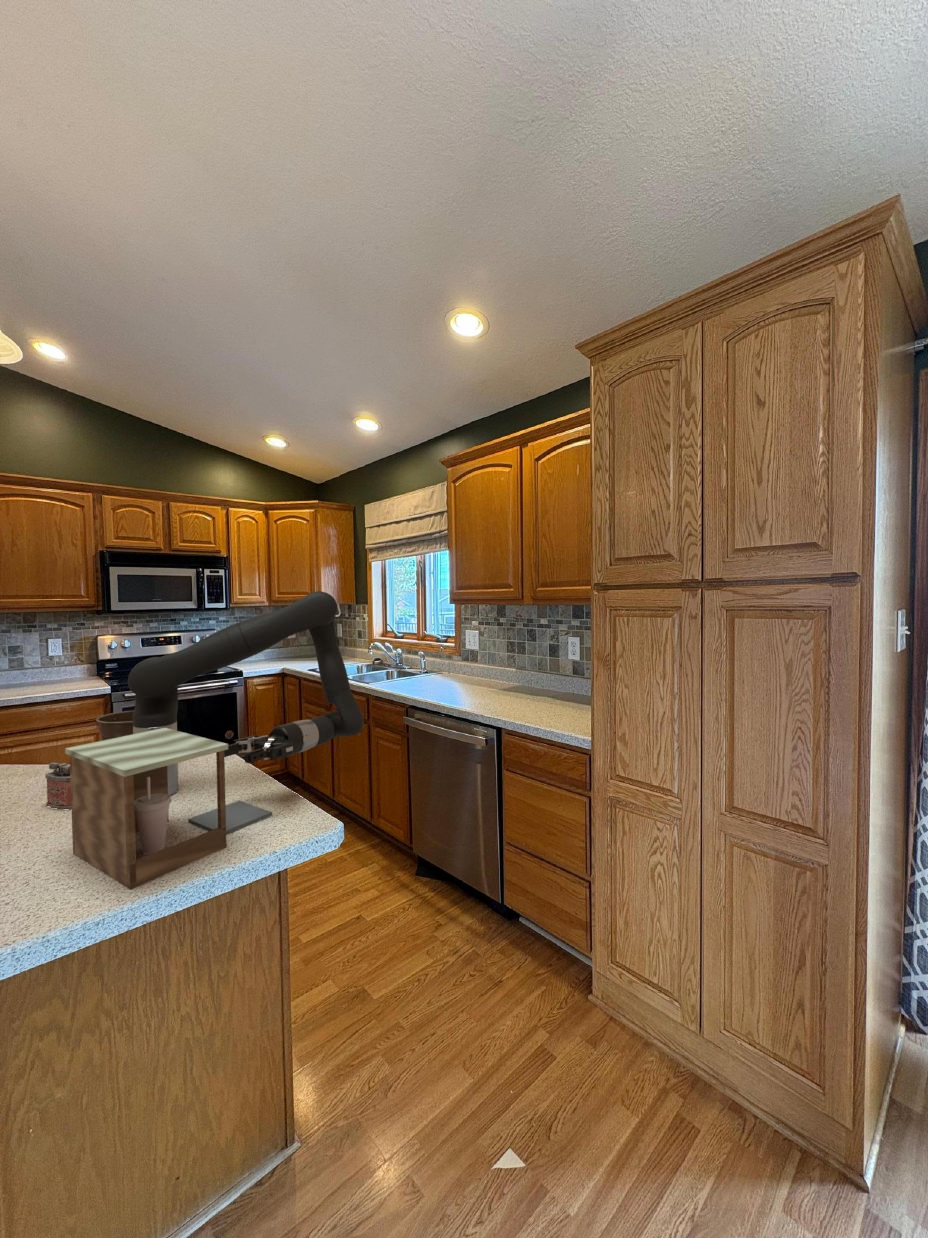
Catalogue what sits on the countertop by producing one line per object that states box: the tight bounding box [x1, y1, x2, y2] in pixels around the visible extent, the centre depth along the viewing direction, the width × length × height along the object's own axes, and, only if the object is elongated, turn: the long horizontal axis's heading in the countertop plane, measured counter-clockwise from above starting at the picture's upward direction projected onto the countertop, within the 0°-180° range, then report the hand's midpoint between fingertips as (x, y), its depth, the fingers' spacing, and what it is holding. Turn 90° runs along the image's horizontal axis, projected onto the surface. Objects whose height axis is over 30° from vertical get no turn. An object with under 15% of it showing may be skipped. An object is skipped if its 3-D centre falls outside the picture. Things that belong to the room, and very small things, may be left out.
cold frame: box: [64, 728, 229, 890], centre depth 97 cm, size 23×18×20 cm
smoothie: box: [134, 777, 172, 855], centre depth 98 cm, size 6×6×14 cm
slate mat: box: [187, 800, 273, 836], centre depth 112 cm, size 12×12×1 cm
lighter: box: [45, 762, 71, 809], centre depth 118 cm, size 8×3×10 cm, turn 71°
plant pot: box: [95, 710, 134, 741], centre depth 141 cm, size 16×16×16 cm
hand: (233, 755), depth 112 cm, fingers open, 8 cm apart
